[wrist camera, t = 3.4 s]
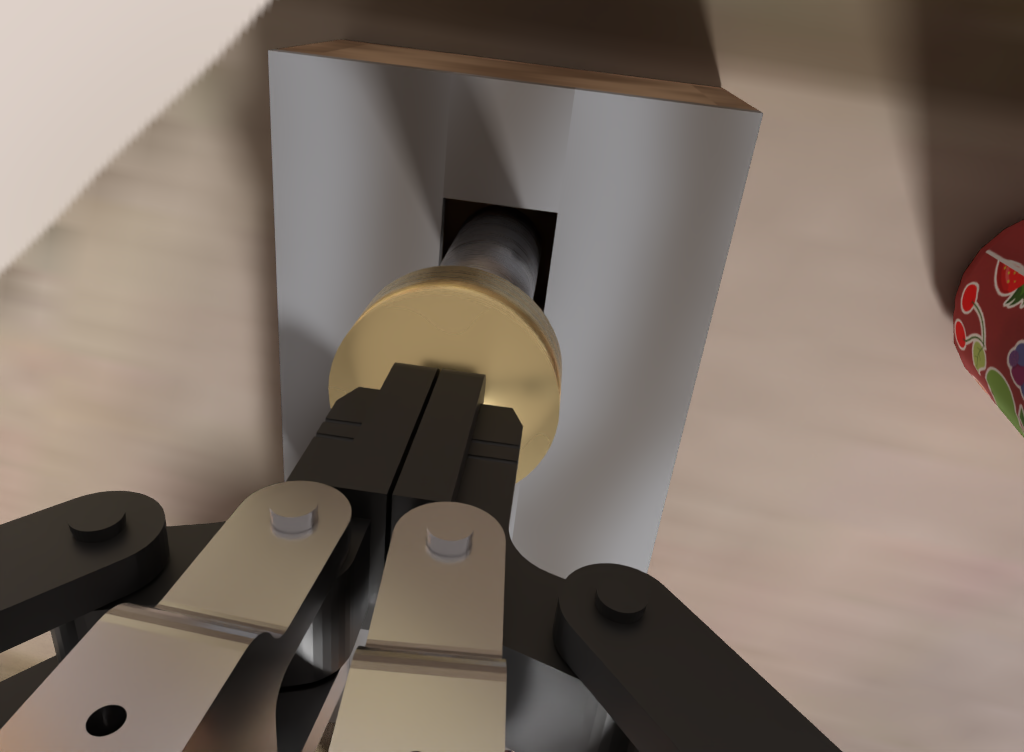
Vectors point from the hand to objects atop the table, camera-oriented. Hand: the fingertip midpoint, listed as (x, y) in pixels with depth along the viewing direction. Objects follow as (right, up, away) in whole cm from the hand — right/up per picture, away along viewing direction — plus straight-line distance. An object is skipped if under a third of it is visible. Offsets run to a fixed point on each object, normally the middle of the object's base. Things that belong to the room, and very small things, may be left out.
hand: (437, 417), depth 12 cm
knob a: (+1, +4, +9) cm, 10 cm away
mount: (+1, 0, +16) cm, 16 cm away
